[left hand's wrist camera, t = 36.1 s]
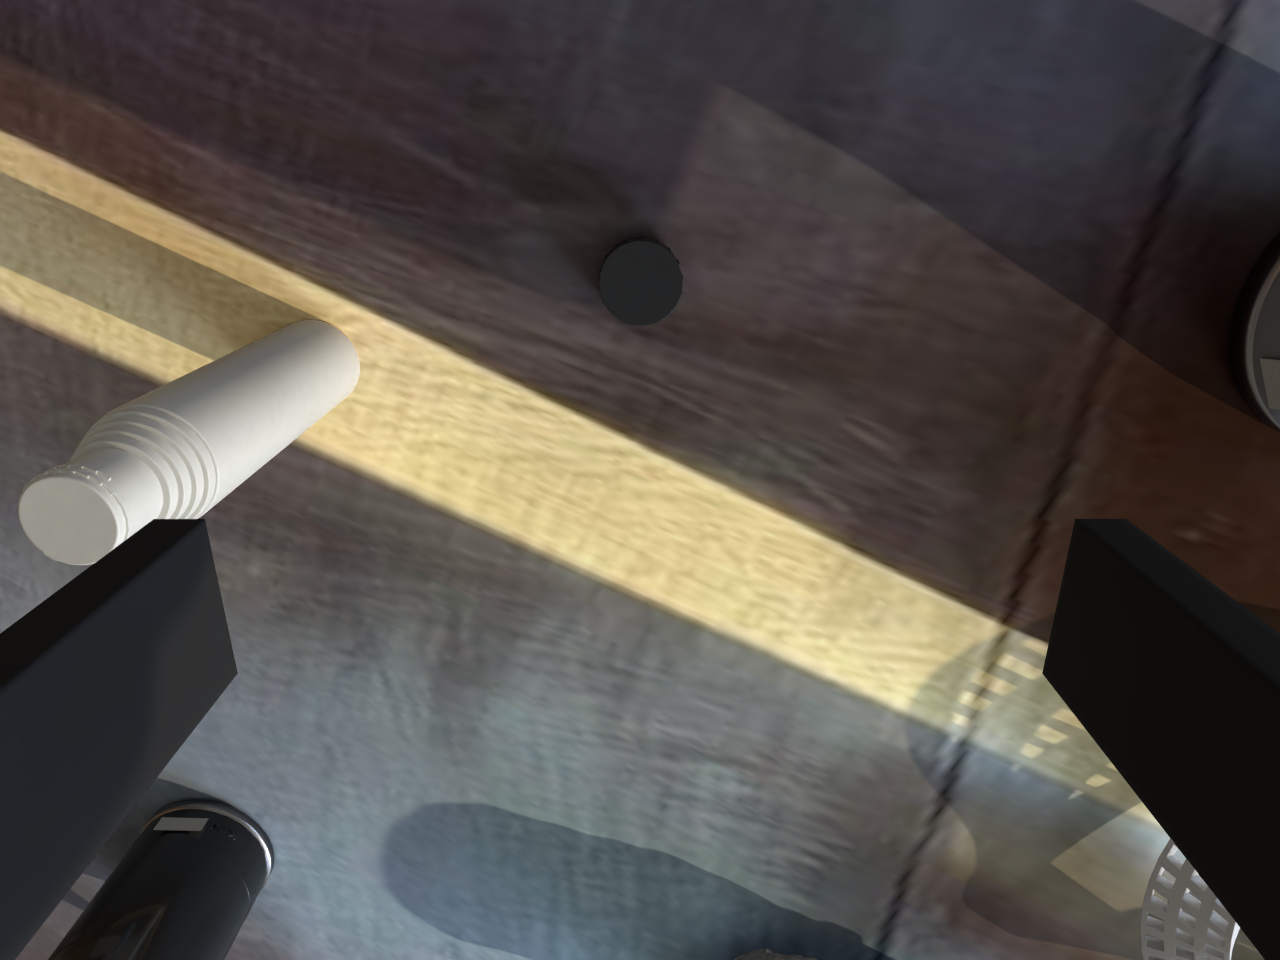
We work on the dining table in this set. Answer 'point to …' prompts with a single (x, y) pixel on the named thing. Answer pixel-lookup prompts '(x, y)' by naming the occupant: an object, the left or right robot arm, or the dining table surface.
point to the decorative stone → (771, 956)
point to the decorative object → (1184, 916)
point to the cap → (640, 281)
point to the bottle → (187, 442)
